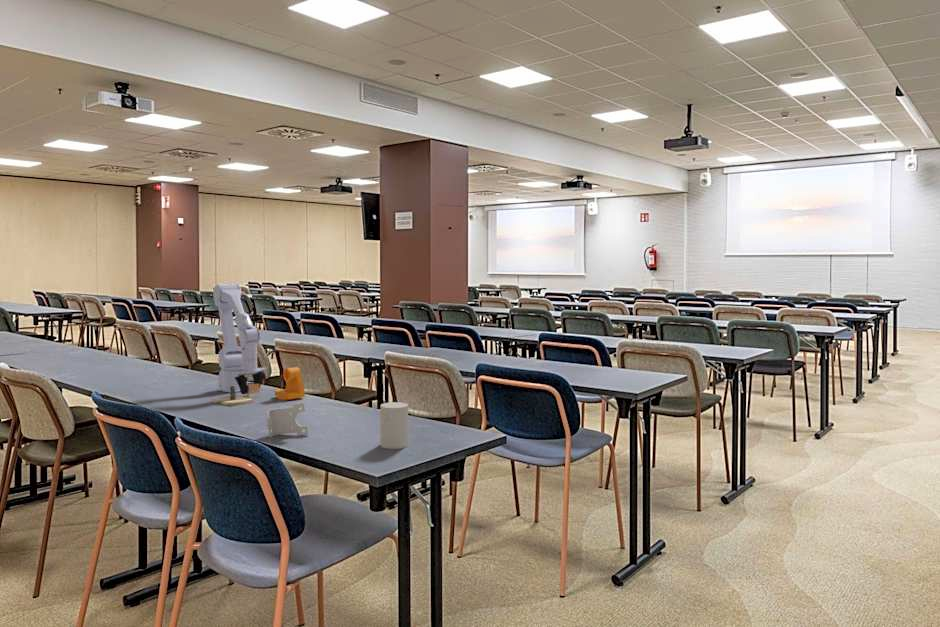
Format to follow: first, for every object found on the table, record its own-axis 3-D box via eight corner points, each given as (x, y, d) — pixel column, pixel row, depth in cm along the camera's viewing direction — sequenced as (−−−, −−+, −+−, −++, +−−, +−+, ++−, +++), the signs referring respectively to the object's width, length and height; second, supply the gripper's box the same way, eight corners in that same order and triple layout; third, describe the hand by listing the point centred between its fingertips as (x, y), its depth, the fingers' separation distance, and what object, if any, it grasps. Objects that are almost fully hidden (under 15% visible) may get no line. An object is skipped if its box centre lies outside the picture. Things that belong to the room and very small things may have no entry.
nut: (240, 396, 277) (240, 383, 277) (251, 394, 281) (251, 382, 281) (249, 397, 275) (248, 385, 274) (259, 395, 279) (259, 383, 278)
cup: (381, 441, 211) (381, 402, 210) (408, 441, 212) (408, 402, 211) (379, 448, 203) (379, 408, 202) (407, 448, 203) (407, 407, 202)
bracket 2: (269, 440, 215) (265, 408, 214) (275, 437, 219) (271, 405, 218) (304, 437, 213) (299, 405, 213) (309, 434, 218) (304, 402, 217)
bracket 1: (274, 397, 276) (273, 367, 275) (290, 395, 282) (289, 365, 281) (288, 401, 269) (288, 370, 268) (304, 398, 274) (304, 368, 273)
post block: (211, 402, 266) (211, 386, 266) (234, 397, 274) (234, 382, 274) (231, 406, 259) (231, 390, 259) (253, 401, 267) (253, 386, 267)
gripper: (240, 361, 269) (241, 396, 270) (271, 357, 280) (271, 391, 282) (229, 360, 273) (229, 394, 274) (259, 356, 285) (260, 389, 286)
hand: (250, 392), depth 278 cm, fingers open, 6 cm apart
